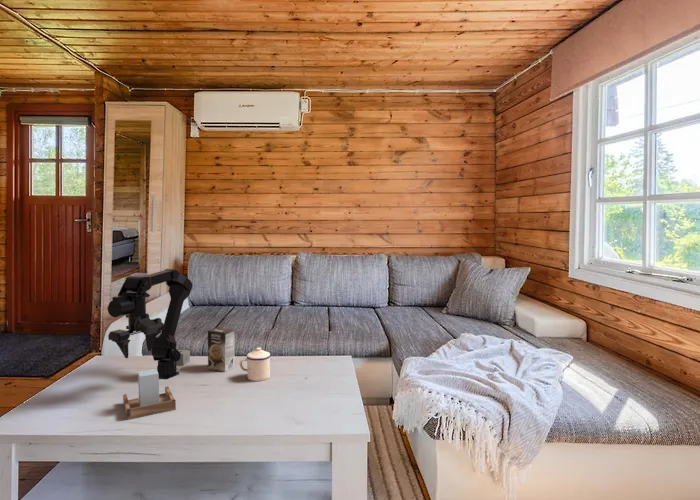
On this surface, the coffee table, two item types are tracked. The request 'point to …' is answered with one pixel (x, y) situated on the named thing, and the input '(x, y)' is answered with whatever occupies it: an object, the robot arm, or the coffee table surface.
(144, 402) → the tall block
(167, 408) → the tray
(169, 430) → the coffee table surface
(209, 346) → the coffee box
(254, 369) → the teacup with lid
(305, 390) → the coffee table surface
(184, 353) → the dice cube
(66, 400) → the coffee table surface
